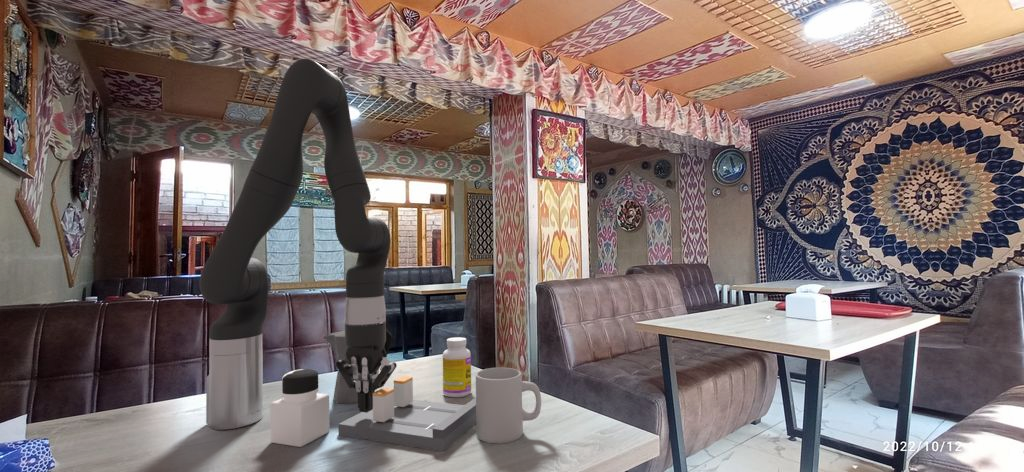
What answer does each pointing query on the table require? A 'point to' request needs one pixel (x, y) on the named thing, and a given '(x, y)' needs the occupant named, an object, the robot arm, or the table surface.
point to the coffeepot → (341, 388)
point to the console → (415, 424)
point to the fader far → (403, 391)
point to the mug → (502, 404)
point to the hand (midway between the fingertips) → (366, 410)
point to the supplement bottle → (456, 368)
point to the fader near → (383, 404)
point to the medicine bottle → (299, 410)
